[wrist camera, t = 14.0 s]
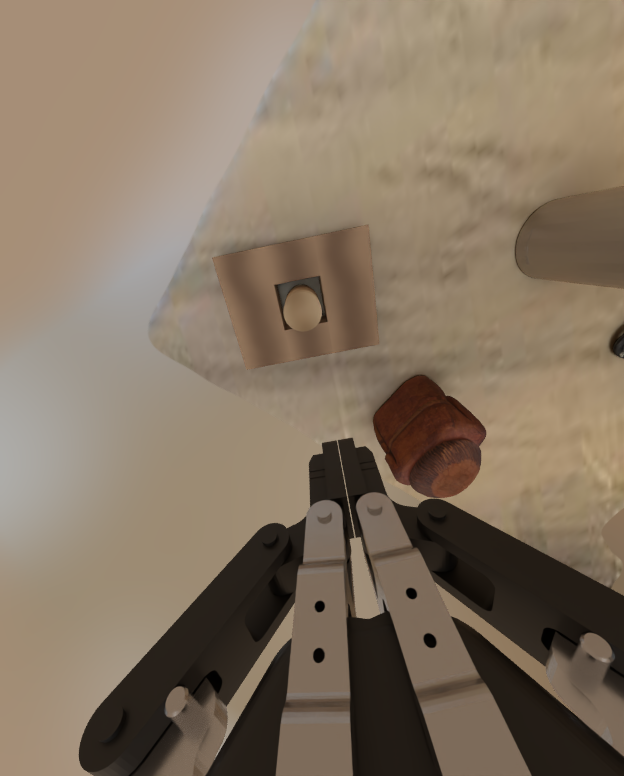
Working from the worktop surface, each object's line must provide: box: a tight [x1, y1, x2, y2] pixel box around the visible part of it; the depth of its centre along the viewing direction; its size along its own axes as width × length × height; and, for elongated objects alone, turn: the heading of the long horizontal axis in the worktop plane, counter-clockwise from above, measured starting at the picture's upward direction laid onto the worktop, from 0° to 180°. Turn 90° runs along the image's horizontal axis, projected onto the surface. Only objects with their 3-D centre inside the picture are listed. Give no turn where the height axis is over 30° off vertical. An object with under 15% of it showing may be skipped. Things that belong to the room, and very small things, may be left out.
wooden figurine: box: [373, 376, 486, 498], centre depth 39 cm, size 12×6×18 cm, turn 142°
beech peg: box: [284, 284, 322, 332], centre depth 35 cm, size 4×4×10 cm
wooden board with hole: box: [212, 225, 379, 369], centre depth 38 cm, size 18×14×4 cm
